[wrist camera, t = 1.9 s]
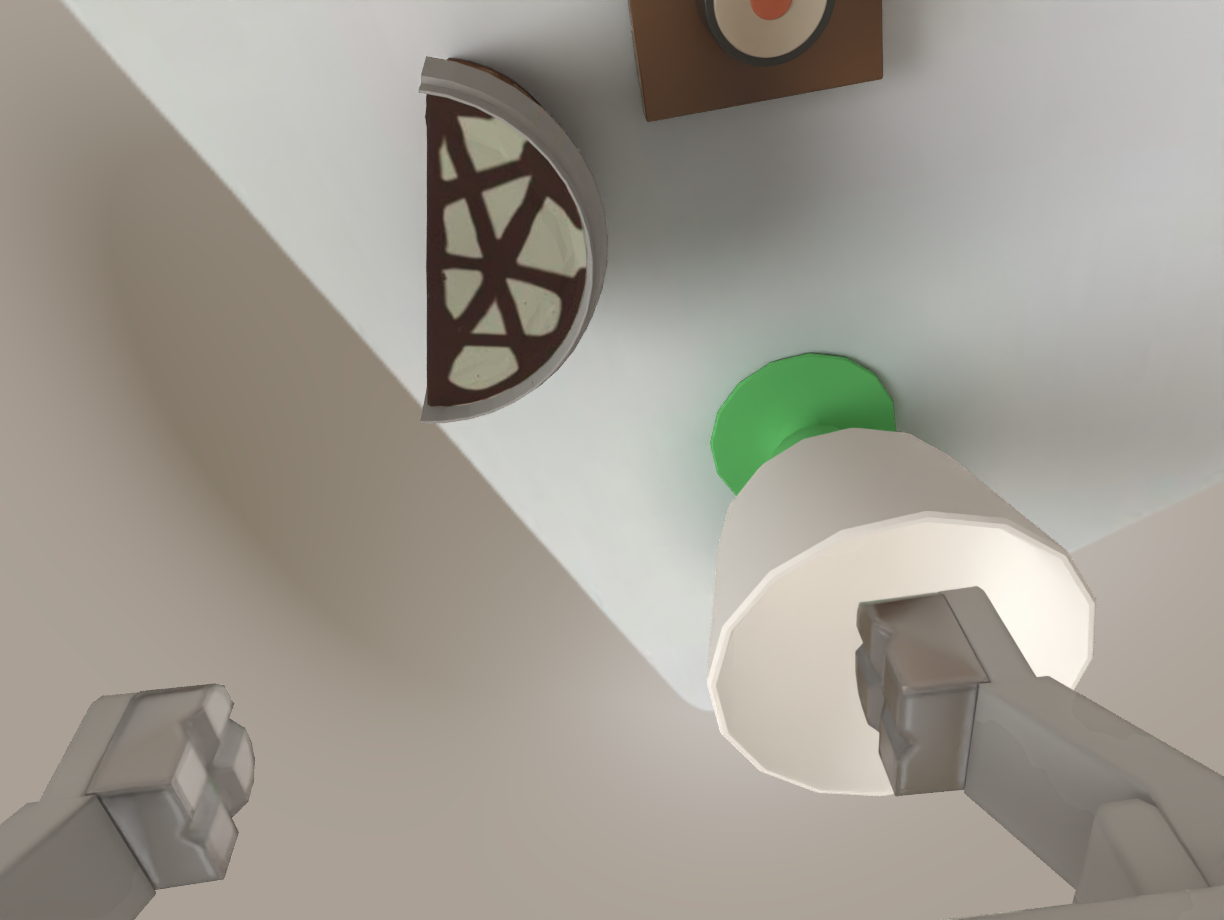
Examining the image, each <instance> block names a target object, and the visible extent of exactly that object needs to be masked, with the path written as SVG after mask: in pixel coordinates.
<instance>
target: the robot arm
mask: <svg viewBox="0 0 1224 920" xmlns="http://www.w3.org/2000/svg"><path fill="white" fill-rule="evenodd" d="M856 626H857V629H858V632H859V634H860V637H861V639H862V642H863V643H862V644H861V646H860V647H859V648H858V649H857V650H856V651H855V673H856V681H857V689H858V694H859V698H860V702H861V706H862V709H863V712H864V715H865V718H866V720H867V723H868V725H869V726H871V727H872V728H874V729H875V730H876V731H878V732H879V751H878V753H879V756H880V758H881V761H882V763H883V766H884V769H885V771H886V774H887V776H888V779H889V782H890V784H891V787H892V790H893V792H894V795H895V796H902V795H913V794H922V793H933V792H944V791H954V790H964V793H965V794H966V795H967V796H968V797H969V798H971V799H972V800H973V801H974V802H975V803H976V804H978V805H979V806H980V807H981V808H982V809H983V810H985V811H986V812H987V813H988V814H989V815H990V816H991V817H993V818H994V819H995V820H996V821H997V822H998V823H1000V824H1001V825H1002V826H1003V827H1004V828H1005V829H1007V830H1008V831H1009V832H1010V833H1011V834H1012V835H1013V836H1014V837H1016V838H1017V839H1018V840H1019V841H1020V842H1021V843H1023V844H1024V845H1025V846H1026V847H1027V848H1028V849H1029V850H1031V851H1032V852H1033V853H1034V854H1035V855H1036V856H1037V857H1039V858H1040V859H1041V860H1042V861H1043V862H1044V863H1046V864H1047V865H1048V866H1049V867H1050V868H1051V869H1052V870H1054V871H1055V872H1056V873H1057V874H1058V875H1059V876H1061V877H1062V878H1063V879H1064V880H1065V881H1066V882H1067V883H1069V884H1070V885H1071V886H1072V887H1073V888H1074V889H1075V890H1076V892H1075V896H1074V899H1073V903H1072V904H1067V905H1060V906H1052V907H1043V908H1035V909H1026V910H1018V911H1010V912H1002V913H994V914H986V915H978V916H969V917H961V918H953V919H945V920H1224V777H1223V776H1222V775H1220V774H1218V773H1217V772H1215V771H1213V770H1211V769H1210V768H1208V767H1206V766H1204V765H1203V764H1201V763H1199V762H1197V761H1196V760H1194V759H1192V758H1190V757H1189V756H1187V755H1185V754H1183V753H1182V752H1180V751H1178V750H1176V749H1175V748H1173V747H1171V746H1170V745H1168V744H1166V743H1164V742H1162V741H1161V740H1159V739H1157V738H1156V737H1154V736H1152V735H1150V734H1149V733H1147V732H1145V731H1144V730H1142V729H1140V728H1138V727H1137V726H1135V725H1133V724H1131V723H1130V722H1128V721H1126V720H1124V719H1122V718H1121V717H1119V716H1118V715H1116V714H1114V713H1112V712H1111V711H1109V710H1107V709H1105V708H1104V707H1102V706H1100V705H1098V704H1097V703H1095V702H1093V701H1091V700H1090V699H1088V698H1086V697H1085V696H1083V695H1081V694H1079V693H1078V692H1076V691H1074V690H1072V689H1071V688H1069V687H1067V686H1065V685H1064V684H1062V683H1060V682H1058V681H1057V680H1055V679H1053V678H1052V677H1050V676H1042V677H1036V675H1035V674H1034V672H1033V670H1032V669H1031V667H1030V665H1029V664H1028V662H1027V660H1026V659H1025V657H1024V655H1023V654H1022V652H1021V650H1020V649H1019V647H1018V646H1017V644H1016V642H1015V641H1014V639H1013V637H1012V636H1011V634H1010V632H1009V631H1008V629H1007V627H1006V626H1005V624H1004V622H1003V621H1002V619H1001V618H1000V616H999V614H998V613H997V611H996V609H995V608H994V606H993V604H992V603H991V601H990V599H989V598H988V596H987V594H986V593H985V591H984V590H983V589H981V588H980V587H978V586H973V587H966V588H959V589H952V590H945V591H938V592H937V593H935V592H933V593H926V594H918V595H911V596H903V597H896V598H888V599H881V600H873V601H866V602H860V603H859V606H858V609H857V621H856ZM233 705H234V703H233V701H232V699H231V697H230V695H229V693H228V691H227V690H226V688H225V686H224V685H219V684H207V685H196V686H186V687H177V688H168V689H157V690H147V691H140V692H137V693H127V694H116V695H105V696H101V697H100V698H98V699H97V700H96V701H94V702H93V703H92V704H91V705H90V707H89V709H88V711H87V713H86V715H85V716H84V718H83V720H82V722H81V724H80V726H79V728H78V730H77V731H76V733H75V735H74V737H73V739H72V741H71V743H70V745H69V746H68V748H67V750H66V752H65V754H64V756H63V758H62V760H61V762H60V763H59V765H58V767H57V769H56V771H55V773H54V775H53V776H52V778H51V780H50V782H49V784H48V786H47V788H46V790H45V791H44V793H43V796H42V797H41V799H40V801H39V802H33V803H27V804H26V805H24V806H23V807H22V808H20V809H19V810H18V811H17V812H16V813H14V814H13V815H12V816H11V817H9V818H8V819H7V820H6V821H4V822H3V823H2V824H1V825H0V920H134V919H135V918H136V917H137V916H138V914H139V913H140V912H141V911H142V910H143V909H144V907H145V906H146V905H147V904H148V903H149V901H150V900H151V899H152V898H153V897H154V896H155V894H156V892H155V890H157V889H164V888H170V887H177V886H183V885H190V884H196V883H203V882H210V881H216V880H223V879H224V878H225V875H226V871H227V868H228V865H229V862H230V858H231V855H232V852H233V849H234V846H235V843H236V839H237V836H238V833H239V832H238V830H237V828H236V826H235V824H234V822H233V820H232V817H233V816H234V815H235V814H236V813H237V812H238V811H239V810H240V809H241V808H242V807H243V806H244V805H245V804H246V803H247V802H248V800H249V797H250V793H251V790H252V786H253V783H254V765H255V757H254V752H253V748H252V743H251V740H250V737H249V735H248V733H247V731H246V729H245V728H244V727H243V726H241V725H240V724H238V723H236V722H235V721H233V720H231V719H230V718H229V717H230V714H231V711H232V708H233Z"/></svg>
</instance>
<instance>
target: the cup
mask: <svg viewBox="0 0 1224 920" xmlns="http://www.w3.org/2000/svg"><path fill="white" fill-rule="evenodd" d="M710 443H711V448H712V452H713V457H714V461H715V465H716V470H717V474H718V475H719V476H720V477H721V478H722V479H723V481H724V482H725V483H726V484H727V485H728V487H729V488H730V489H731V490H732V491H733V493H734V494H735V495H736V497H735V499H734V500H733V501H732V502H731V504H730V505H729V506H728V510H727V514H726V518H725V522H724V525H723V529H722V533H721V537H720V541H719V544H718V551H717V563H716V575H715V587H714V599H713V611H712V623H711V635H710V647H709V659H708V671H707V686H708V690H709V694H710V697H711V701H712V704H713V708H714V712H715V715H716V719H717V722H718V726H719V729H720V733H721V734H722V735H723V736H724V737H725V738H726V739H727V740H728V741H729V742H730V743H731V744H732V745H734V747H735V748H737V749H738V750H739V751H740V752H741V753H742V754H743V755H744V756H745V757H746V758H747V759H748V760H749V761H750V762H751V763H752V764H753V765H754V766H755V767H756V768H757V769H758V770H760V771H761V772H764V773H766V774H769V775H772V776H774V777H777V778H780V779H782V780H785V781H788V782H790V783H793V784H796V785H798V786H801V787H804V788H806V789H809V790H812V791H814V792H817V793H835V794H836V793H837V794H854V795H872V796H884V795H889V794H894V792H893V790H892V787H891V784H890V782H889V779H888V776H887V774H886V771H885V769H884V766H883V763H882V761H881V758H880V756H879V753H878V751H879V732H878V731H876V730H875V729H874V728H872V727H871V726H869V725H868V723H867V720H866V718H865V715H864V712H863V709H862V706H861V702H860V698H859V694H858V689H857V681H856V673H855V651H856V650H857V649H858V648H859V647H860V646H861V644H862V643H863V642H862V639H861V637H860V634H859V632H858V629H857V626H856V621H857V609H858V606H859V603H860V602H866V601H873V600H881V599H888V598H896V597H903V596H911V595H918V594H926V593H933V592H935V593H937V592H938V591H945V590H952V589H959V588H966V587H973V586H978V587H980V588H981V589H983V590H984V591H985V593H986V594H987V596H988V598H989V599H990V601H991V603H992V604H993V606H994V608H995V609H996V611H997V613H998V614H999V616H1000V618H1001V619H1002V621H1003V622H1004V624H1005V626H1006V627H1007V629H1008V631H1009V632H1010V634H1011V636H1012V637H1013V639H1014V641H1015V642H1016V644H1017V646H1018V647H1019V649H1020V650H1021V652H1022V654H1023V655H1024V657H1025V659H1026V660H1027V662H1028V664H1029V665H1030V667H1031V669H1032V670H1033V672H1034V674H1035V675H1036V677H1042V676H1050V677H1052V678H1053V679H1055V680H1057V681H1058V682H1060V683H1062V684H1064V685H1065V686H1067V687H1069V688H1071V689H1072V690H1074V689H1075V687H1076V685H1077V684H1078V682H1079V680H1080V679H1081V677H1082V675H1083V673H1084V672H1085V670H1086V668H1087V666H1088V665H1089V663H1090V661H1091V659H1092V657H1093V655H1094V636H1095V635H1094V634H1095V610H1096V598H1095V596H1094V595H1093V593H1092V591H1091V590H1090V588H1089V586H1088V585H1087V583H1086V582H1085V580H1084V578H1083V577H1082V575H1081V573H1080V572H1079V570H1078V568H1077V567H1076V565H1075V564H1074V562H1073V560H1072V559H1071V557H1070V555H1069V554H1068V552H1067V550H1066V549H1064V548H1063V547H1062V546H1061V545H1059V544H1058V543H1057V542H1056V541H1054V540H1053V539H1052V538H1051V537H1049V536H1048V535H1047V534H1046V533H1045V532H1043V531H1042V530H1041V529H1040V528H1038V527H1037V526H1036V525H1035V524H1033V523H1032V522H1031V521H1030V520H1028V519H1027V518H1026V517H1025V516H1023V515H1022V514H1021V513H1020V512H1019V511H1017V510H1016V509H1015V508H1014V507H1012V506H1011V505H1010V504H1009V503H1007V502H1006V501H1005V500H1004V499H1002V498H1001V497H1000V496H999V495H997V494H996V493H995V492H994V491H993V490H991V489H990V488H989V487H988V486H986V485H985V484H984V483H983V482H981V481H980V480H979V479H978V478H976V477H975V476H974V475H973V474H971V473H970V472H969V471H968V470H967V469H965V468H964V467H963V466H962V465H960V464H959V463H958V462H957V461H955V460H954V459H953V458H952V457H950V456H949V455H948V454H946V453H944V452H942V451H940V450H939V449H937V448H935V447H933V446H931V445H929V444H928V443H926V442H924V441H922V440H920V439H918V438H917V437H915V436H913V435H911V434H909V433H903V432H896V427H895V417H894V407H893V400H892V399H891V397H890V396H889V394H888V393H887V391H886V390H885V388H884V387H883V385H882V384H881V382H880V381H879V379H878V378H877V376H876V375H875V373H873V372H871V371H869V370H868V369H866V368H864V367H862V366H860V365H859V364H857V363H855V362H853V361H852V360H850V359H848V358H846V357H841V356H832V355H823V354H814V353H806V354H802V355H798V356H794V357H790V358H786V359H782V360H778V361H774V362H771V363H769V364H768V365H766V366H764V367H763V368H761V369H760V370H758V371H757V372H755V373H754V374H752V375H751V376H749V377H747V378H746V379H744V380H743V381H741V382H740V383H739V384H738V385H737V386H736V388H735V389H734V390H733V392H732V393H731V395H730V396H729V397H728V399H727V400H726V401H725V403H724V404H723V405H722V407H721V408H720V409H719V411H718V413H717V417H716V421H715V426H714V430H713V434H712V438H711V442H710Z"/></svg>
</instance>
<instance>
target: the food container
mask: <svg viewBox="0 0 1224 920" xmlns="http://www.w3.org/2000/svg"><path fill="white" fill-rule="evenodd" d="M419 93H425V94H427V96H426V105H427V106H426V115H425V118H426V125H427V261H426V272H427V390H426V395H425V401H424V406H423V411H422V417H421V423H447V422H454V421H461V420H468V419H472V418H475V417H479V416H482V415H485V414H489V413H492V412H495V411H497V410H499V409H501V408H503V407H506V406H508V405H510V404H512V403H514V402H516V401H517V400H519V399H521V398H522V397H524V396H525V395H527V394H528V393H530V392H531V391H533V390H534V389H536V388H537V387H539V386H540V385H541V384H543V383H544V382H545V381H546V380H547V379H548V378H549V377H550V376H552V375H553V374H554V373H555V372H556V371H557V370H558V369H559V368H560V367H561V366H562V364H563V363H564V362H565V361H566V360H567V358H568V357H569V356H570V355H571V353H572V352H573V351H574V350H575V348H576V346H577V344H578V343H579V341H580V339H581V337H582V336H583V334H584V332H585V330H586V329H587V327H588V324H589V322H590V320H591V318H592V316H593V314H594V311H595V308H596V305H597V303H598V300H599V297H600V294H601V292H602V288H603V283H604V278H605V272H606V267H607V245H608V235H607V229H606V222H605V215H604V208H603V205H602V202H601V199H600V196H599V193H598V190H597V186H596V183H595V180H594V179H593V177H592V175H591V173H590V171H589V169H588V167H587V165H586V163H585V161H584V159H583V157H582V155H581V153H580V152H579V150H578V149H577V148H576V146H575V145H574V143H573V142H572V141H571V139H570V138H569V137H568V135H567V134H566V132H565V131H564V130H563V129H562V128H561V127H560V125H559V124H558V123H557V122H556V121H555V120H554V119H553V118H552V117H551V116H550V115H549V114H548V113H547V112H546V111H545V110H544V109H543V108H542V107H541V105H540V104H539V103H538V102H537V101H536V100H535V99H534V98H533V97H532V96H531V95H530V94H529V93H528V92H527V91H526V90H525V89H524V88H522V87H521V86H520V85H518V84H517V83H515V82H514V81H513V80H511V79H510V78H508V77H507V76H505V75H503V74H501V73H499V72H497V71H495V70H493V69H491V68H488V67H486V66H483V65H480V64H477V63H474V62H471V61H465V60H459V59H453V58H448V59H447V60H443V59H438V58H432V57H427V56H426V60H425V63H424V67H423V71H422V74H421V85H420V88H419Z"/></svg>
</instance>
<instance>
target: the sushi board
mask: <svg viewBox="0 0 1224 920" xmlns="http://www.w3.org/2000/svg"><path fill="white" fill-rule="evenodd" d="M628 5H629V12H630V19H631V26H632V31H631V33H632V40H633V47H634V54H635V60H636V67H637V74H638V81H639V85H640V89H641V95H642V102H643V109H644V115H645V118H646V121H647V122H652V121H657V120H663V119H668V118H674V117H679V116H684V115H690V114H695V113H701V112H706V111H712V110H717V109H722V108H728V107H733V106H739V105H744V104H749V103H755V102H760V101H766V100H771V99H776V98H782V97H787V96H793V95H798V94H803V93H809V92H814V91H820V90H825V89H830V88H836V87H841V86H847V85H852V84H857V83H863V82H868V81H874V80H879V79H882V78H883V41H882V0H628Z"/></svg>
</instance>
